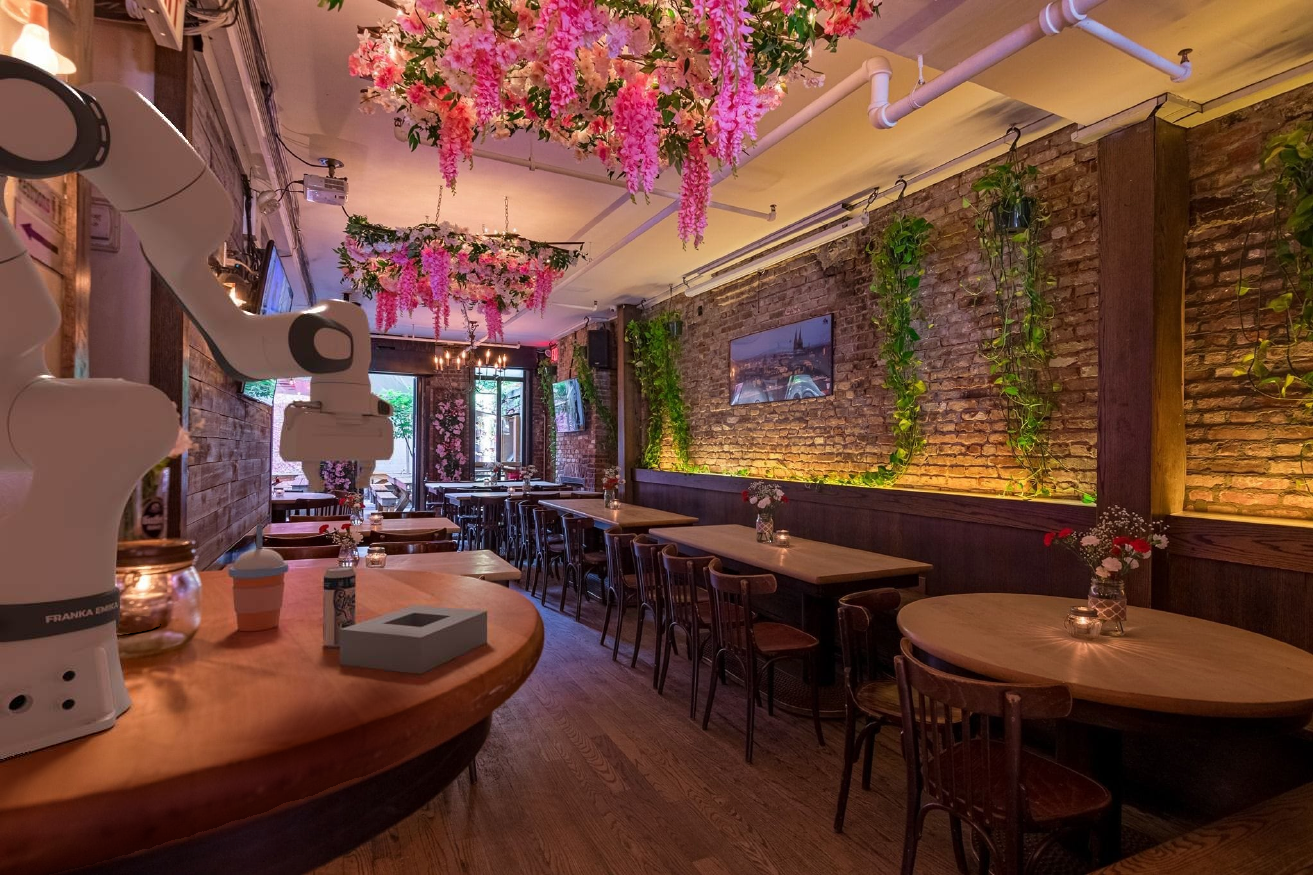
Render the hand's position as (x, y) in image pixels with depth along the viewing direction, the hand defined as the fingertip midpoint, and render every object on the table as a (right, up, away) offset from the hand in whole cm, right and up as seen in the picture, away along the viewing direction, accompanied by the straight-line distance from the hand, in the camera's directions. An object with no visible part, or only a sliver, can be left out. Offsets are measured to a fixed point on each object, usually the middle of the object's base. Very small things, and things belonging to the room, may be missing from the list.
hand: (340, 489), depth 105 cm
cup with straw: (-19, -25, +10) cm, 33 cm away
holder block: (+14, -24, -6) cm, 29 cm away
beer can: (0, -25, -1) cm, 25 cm away
